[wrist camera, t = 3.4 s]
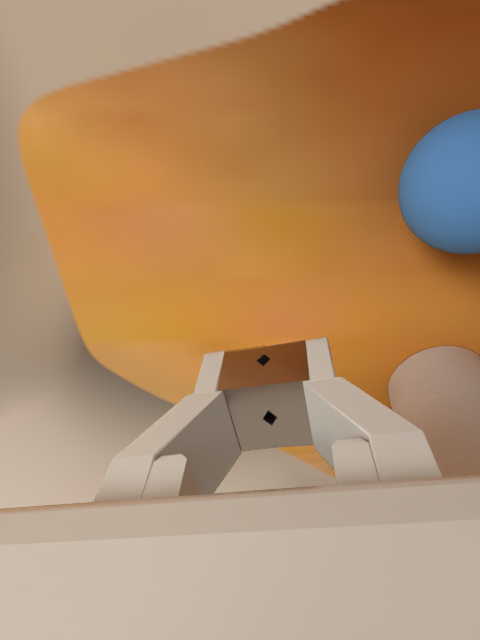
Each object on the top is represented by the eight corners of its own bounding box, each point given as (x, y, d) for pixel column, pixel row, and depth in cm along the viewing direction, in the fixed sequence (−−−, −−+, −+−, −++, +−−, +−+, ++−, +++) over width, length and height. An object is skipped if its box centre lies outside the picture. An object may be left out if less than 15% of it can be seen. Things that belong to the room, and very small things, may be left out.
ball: (382, 120, 19) (422, 134, 14) (518, 90, 18) (615, 93, 13) (386, 239, 22) (420, 286, 17) (504, 218, 21) (578, 262, 16)
